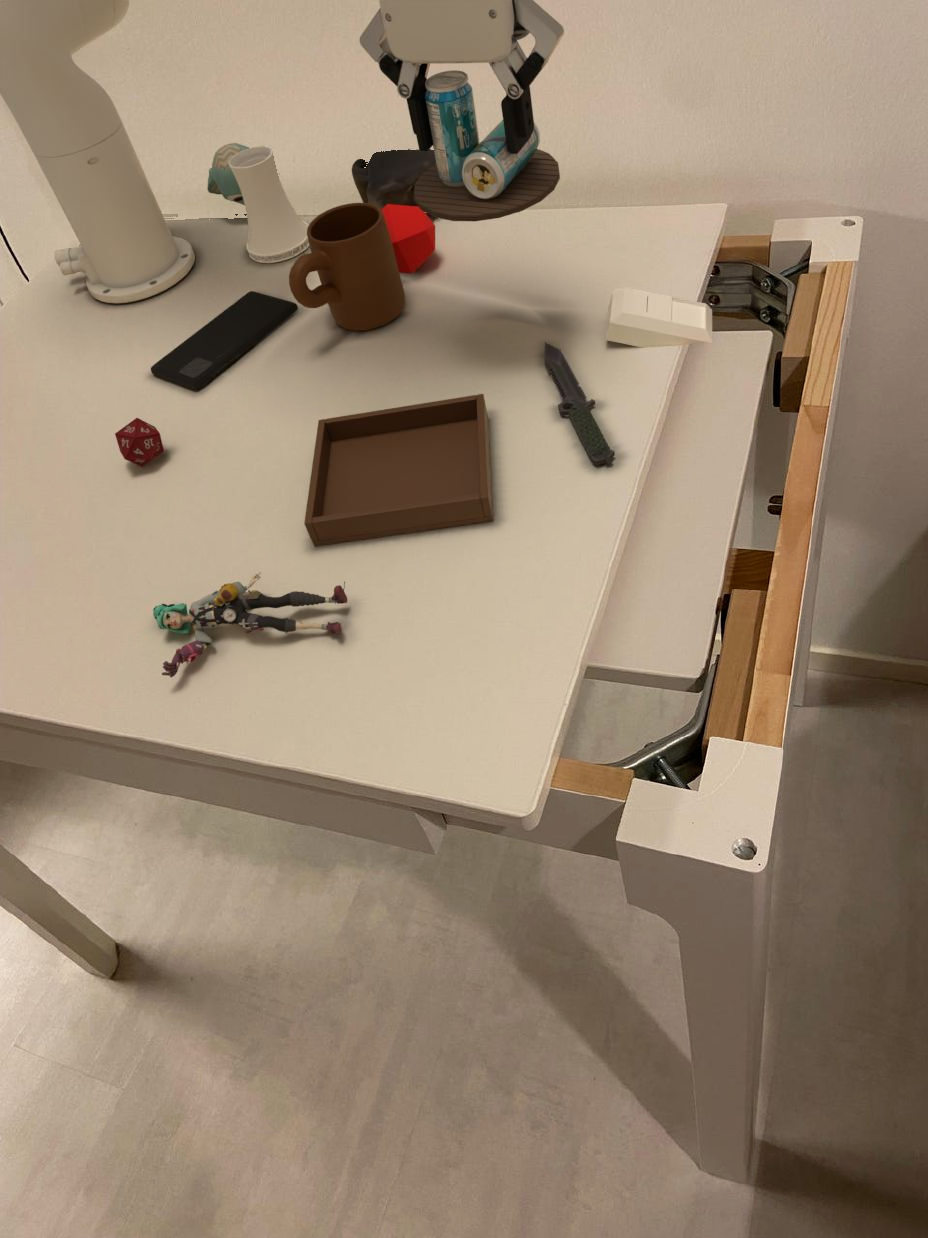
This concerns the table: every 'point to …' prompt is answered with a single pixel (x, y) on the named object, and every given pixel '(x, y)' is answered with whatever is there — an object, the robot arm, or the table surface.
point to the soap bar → (656, 319)
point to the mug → (351, 268)
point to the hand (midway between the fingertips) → (474, 142)
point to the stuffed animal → (225, 174)
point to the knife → (577, 406)
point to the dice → (139, 442)
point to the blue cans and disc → (477, 160)
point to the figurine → (235, 616)
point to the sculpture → (391, 176)
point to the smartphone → (223, 339)
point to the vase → (267, 208)
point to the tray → (400, 471)
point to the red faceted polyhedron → (409, 235)
